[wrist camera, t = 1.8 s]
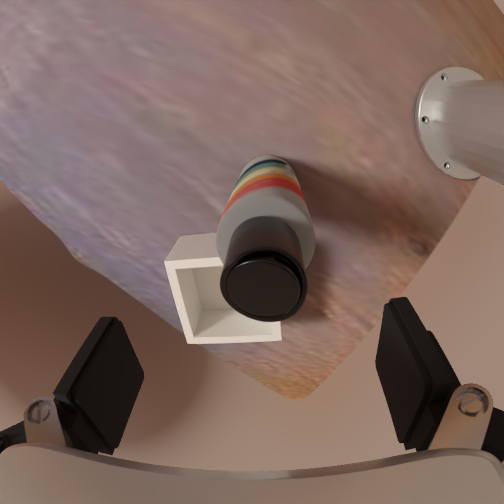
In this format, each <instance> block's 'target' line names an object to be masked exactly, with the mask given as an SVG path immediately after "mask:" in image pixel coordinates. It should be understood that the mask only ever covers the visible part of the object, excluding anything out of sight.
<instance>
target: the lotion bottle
mask: <svg viewBox="0 0 504 504" xmlns="http://www.w3.org/2000/svg"><path fill="white" fill-rule="evenodd" d="M315 241H316V239H315V231H314V227H313V223H312V220H311V217H310V214H309V211H308V208H307V205H306V202H305V199H304V196H303V194H302V191H301V188H300V185H299V182H298V180H297V177H296V174H295V172H294V170H293V169H292V167H291V166H290V165H289V164H288V163H287V162H286V161H284V160H283V159H281V158H279V157H276V156H269V155H267V156H260V157H257V158H255V159H253V160H252V161H250V162H249V163H248V164H247V165H246V166H245V167H244V169H243V171H242V172H241V174H240V176H239V179H238V181H237V183H236V185H235V187H234V190H233V192H232V194H231V196H230V199H229V201H228V203H227V205H226V208H225V210H224V212H223V215H222V217H221V219H220V222H219V225H218V228H217V233H216V247H217V252H218V255H219V258H220V260H221V262H222V263H223V269H222V273H221V277H220V290H221V293H222V296H223V297H224V299H225V301H226V302H227V303H228V304H229V305H230V306H231V307H232V308H233V309H234V310H236V311H237V312H239V313H240V314H242V315H244V316H246V317H248V318H251V319H254V320H257V321H262V322H277V321H282V320H285V319H287V318H289V317H291V316H292V315H294V314H295V313H296V312H297V311H298V310H299V309H300V308H301V306H302V304H303V302H304V300H305V297H306V294H307V277H306V271H305V269H306V268H307V266H308V265H309V263H310V261H311V259H312V257H313V254H314V250H315Z"/></svg>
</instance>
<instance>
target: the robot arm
mask: <svg viewBox="0 0 504 504" xmlns="http://www.w3.org/2000/svg"><path fill="white" fill-rule="evenodd" d="M441 77H442V78H441ZM422 117H423V119H424V120H423V122H422ZM415 123H416V129H417V134H418V138H419V141H420V144H421V146H422V148H423V150H424V152H425V154H426V155H427V157H428V158H429V159H430V161H431V162H432V163H433V164H434V165H435V166H436V167H437V168H438V169H439V170H441V171H442V172H444V173H445V174H447V175H450V176H452V177H454V178H458V179H467V180H470V179H474V178H478V177H480V176H482V175H484V176H486V177H488V178H490V179H492V180H494V181H497V182H499V183H501V184H503V185H504V80H485V79H484V78H483V77H482V76H481V75H480V74H478V73H476V72H474V71H473V70H470V69H467V68H464V67H447V68H444V69H441V70H438V71H437V72H435V73H434V74H432V75H431V76H430V77H429V78H428V79H427V80H426V81H425V83H424V85H423V86H422V88H421V90H420V92H419V95H418V98H417V103H416V109H415ZM444 164H445V165H444ZM375 363H376V370H377V372H378V376H379V379H380V382H381V385H382V388H383V391H384V394H385V397H386V401H387V404H388V407H389V411H390V414H391V417H392V421H393V424H394V427H395V431H396V435H397V438H398V441H399V443H404V446H405V450H409V449H413V448H416V451H417V452H415V453H409V454H404V455H398V456H393V457H388V458H383V459H378V460H372V461H366V462H359V463H352V464H345V465H338V466H331V467H322V468H310V469H298V470H280V471H218V470H202V469H189V468H179V467H170V466H161V465H154V464H147V463H141V462H135V461H129V460H124V459H118V458H113V457H108V456H104V455H99V454H98V452H101V453H105V454H110V455H113V452H114V449H115V448H117V447H118V446H119V443H120V441H121V438H122V436H123V433H124V430H125V427H126V424H127V422H128V419H129V417H130V414H131V411H132V409H133V406H134V403H135V401H136V398H137V395H138V392H139V390H140V388H141V385H142V383H143V380H144V372H143V369H142V367H141V365H140V363H139V361H138V358H137V356H136V354H135V352H134V350H133V348H132V345H131V343H130V340H129V338H128V336H127V333H126V331H125V328H124V326H123V324H122V322H121V321H119V320H118V319H117V318H116V317H101V318H100V319H99V321H98V322H97V324H96V325H95V327H94V328H93V330H92V331H91V333H90V334H89V336H88V337H87V339H86V340H85V342H84V343H83V345H82V346H81V348H80V349H79V351H78V353H77V354H76V356H75V357H74V359H73V361H72V362H71V364H70V366H69V367H68V369H67V370H66V372H65V374H64V375H63V377H62V378H61V380H60V382H59V384H58V385H57V387H56V389H55V390H54V392H53V394H54V396H55V398H54V400H52V399H51V398H49V397H39V398H36V399H34V400H33V401H31V402H30V403H29V404H28V405H27V407H26V408H25V411H24V415H23V419H24V421H22V422H20V423H18V424H16V425H14V426H11V427H9V428H7V429H5V430H3V431H1V432H0V504H504V411H502V410H499V409H497V408H494V407H493V399H492V396H491V394H490V393H489V392H488V391H487V390H486V389H485V388H484V387H482V386H480V385H478V384H473V383H470V384H464V385H461V384H460V382H459V380H458V378H457V376H456V374H455V372H454V370H453V368H452V367H451V365H450V363H449V361H448V359H447V357H446V356H445V354H444V352H443V350H442V348H441V347H440V345H439V343H438V341H437V340H436V338H435V336H434V335H433V333H432V332H431V331H427V330H426V328H425V327H424V325H423V323H422V322H421V320H420V319H419V316H418V315H417V313H416V312H415V310H414V308H413V307H412V305H411V303H410V302H409V300H408V299H407V297H400V298H392V299H390V301H389V303H387V304H385V305H384V311H383V318H382V325H381V331H380V337H379V344H378V349H377V355H376V361H375Z"/></svg>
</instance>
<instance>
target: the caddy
mask: <svg viewBox="0 0 504 504" xmlns="http://www.w3.org/2000/svg"><path fill="white" fill-rule="evenodd" d="M164 263H165V267H166V270H167V274H168V278H169V282H170V285H171V289H172V292H173V296H174V300H175V303H176V307H177V310H178V313H179V317H180V320H181V323H182V327H183V330H184V333H185V336H186V340H187V343H188V344H207V343H242V342H263V341H280V340H282V330H281V321H277V322H262V321H257V320H254V319H251V318H248V317H246V316H244V315H242V314H240V313H239V312H237V311H236V310H234V309H233V308H232V307H231V306H230V305H229V304H228V303H227V302H226V301H225V299H224V297H223V296H222V293H221V290H220V277H221V273H222V269H223V263H222V262H221V260H220V258H219V255H218V252H217V247H216V233H207V234H197V235H186V236H180V237H179V239H178V241H177V242H176V244H175V245H174V247H173V248H172V250H171V251H170V253H169V254H168V256H167V258H166V259H165V261H164Z"/></svg>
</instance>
